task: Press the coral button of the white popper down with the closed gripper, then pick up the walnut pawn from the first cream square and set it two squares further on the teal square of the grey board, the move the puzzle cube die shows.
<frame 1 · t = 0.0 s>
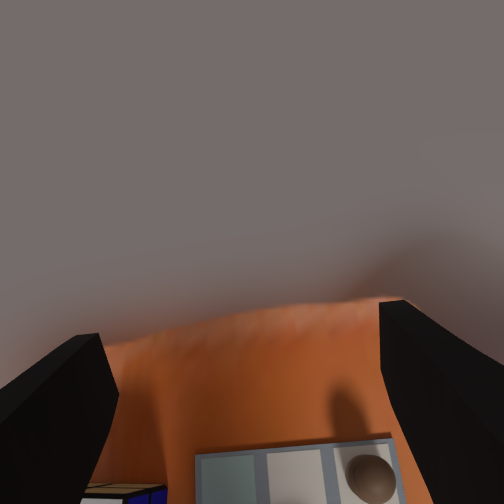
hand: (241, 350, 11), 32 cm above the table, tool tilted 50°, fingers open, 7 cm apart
pawn: (365, 476, 37), point 1 cm above the table, touching board
board: (296, 481, 38), on the table
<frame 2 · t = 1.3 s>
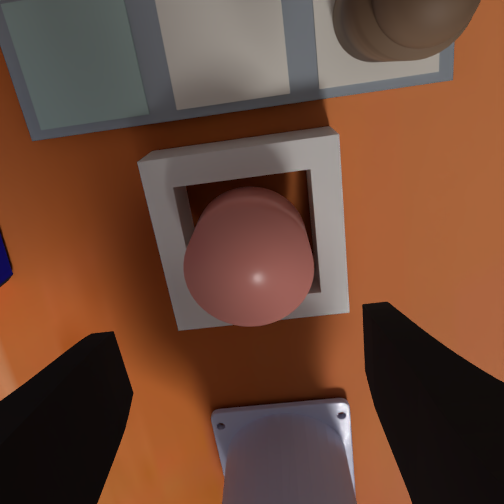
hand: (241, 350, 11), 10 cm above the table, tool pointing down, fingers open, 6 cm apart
button: (249, 254, 17), point 4 cm above the table, slide at 0.0 cm
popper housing: (251, 222, 21), on the table
pawn: (377, 14, 16), point 1 cm above the table, touching board
board: (224, 39, 17), on the table
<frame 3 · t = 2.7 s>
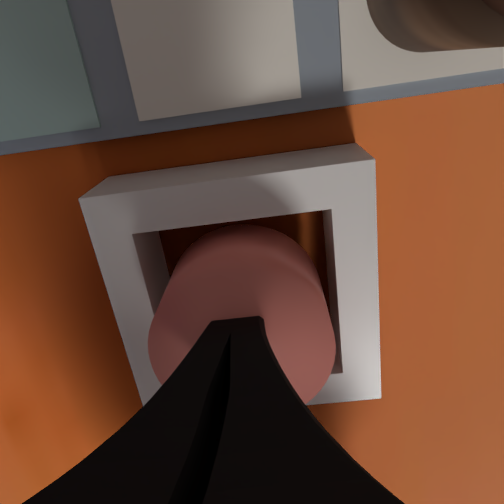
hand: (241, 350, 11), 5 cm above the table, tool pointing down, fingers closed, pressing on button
button: (243, 320, 12), point 3 cm above the table, slide at 0.6 cm, touching gripper
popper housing: (247, 271, 15), on the table
board: (206, 19, 12), on the table
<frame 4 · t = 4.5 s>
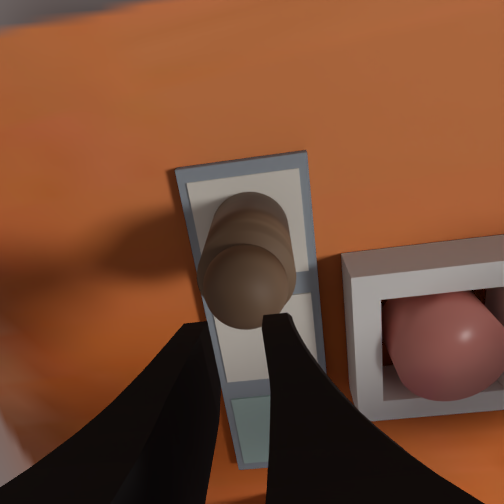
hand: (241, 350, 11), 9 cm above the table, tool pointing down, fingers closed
button: (439, 337, 20), point 2 cm above the table, slide at 2.0 cm
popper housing: (426, 316, 21), on the table
pawn: (250, 228, 19), point 1 cm above the table, touching board
board: (266, 333, 22), on the table
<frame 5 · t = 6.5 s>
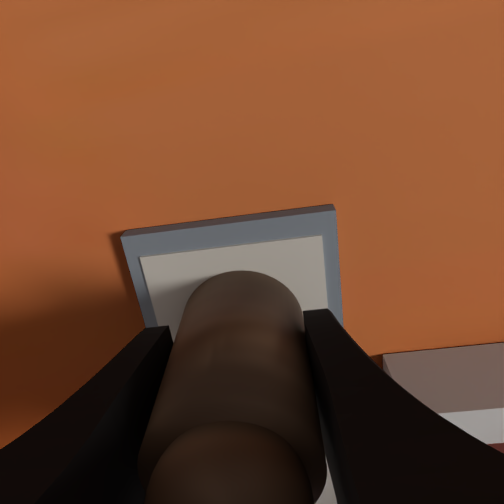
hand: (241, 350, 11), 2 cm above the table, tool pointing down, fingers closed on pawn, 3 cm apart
pawn: (243, 324, 12), point 1 cm above the table, touching board, gripper
board: (268, 458, 15), on the table
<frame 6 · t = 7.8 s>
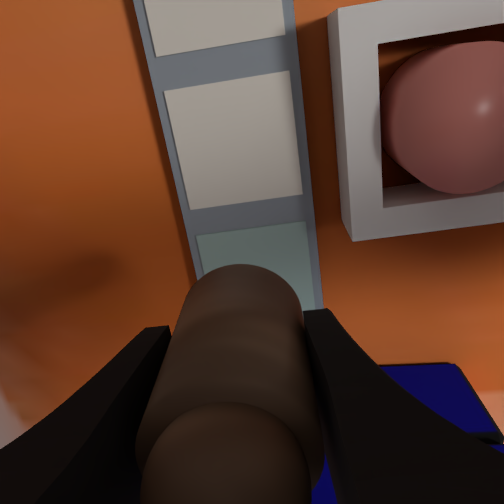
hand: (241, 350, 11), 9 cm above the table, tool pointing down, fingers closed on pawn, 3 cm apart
button: (454, 117, 15), point 2 cm above the table, slide at 2.0 cm
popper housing: (436, 112, 17), on the table
pawn: (242, 318, 12), point 8 cm above the table, touching gripper
puzzle cube: (356, 432, 24), on the table
board: (237, 142, 18), on the table
when the fingers open (3 cm above the table, at t = 9.5 s): pawn stays where it is, resting on board.
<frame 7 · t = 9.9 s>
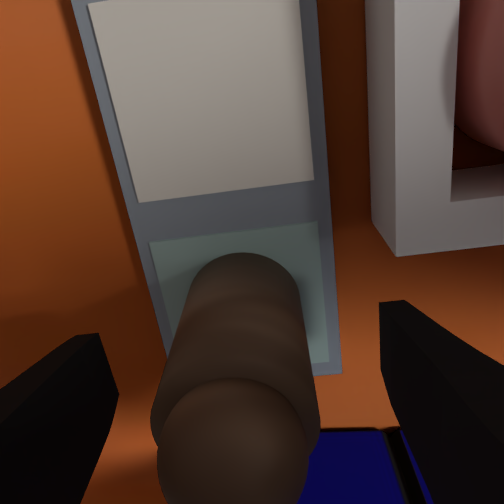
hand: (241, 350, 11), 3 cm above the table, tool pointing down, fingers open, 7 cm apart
pawn: (244, 303, 13), point 1 cm above the table, touching board
board: (211, 96, 11), on the table
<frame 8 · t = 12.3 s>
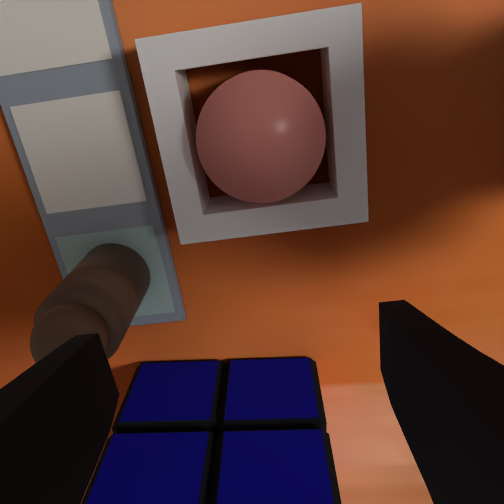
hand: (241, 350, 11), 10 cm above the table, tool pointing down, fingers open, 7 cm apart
button: (260, 134, 17), point 2 cm above the table, slide at 2.0 cm
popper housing: (260, 128, 19), on the table
pawn: (116, 274, 21), point 1 cm above the table, touching board
puzzle cube: (232, 421, 26), on the table
board: (85, 153, 19), on the table
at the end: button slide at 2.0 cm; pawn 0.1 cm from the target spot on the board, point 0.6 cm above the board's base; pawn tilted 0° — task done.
